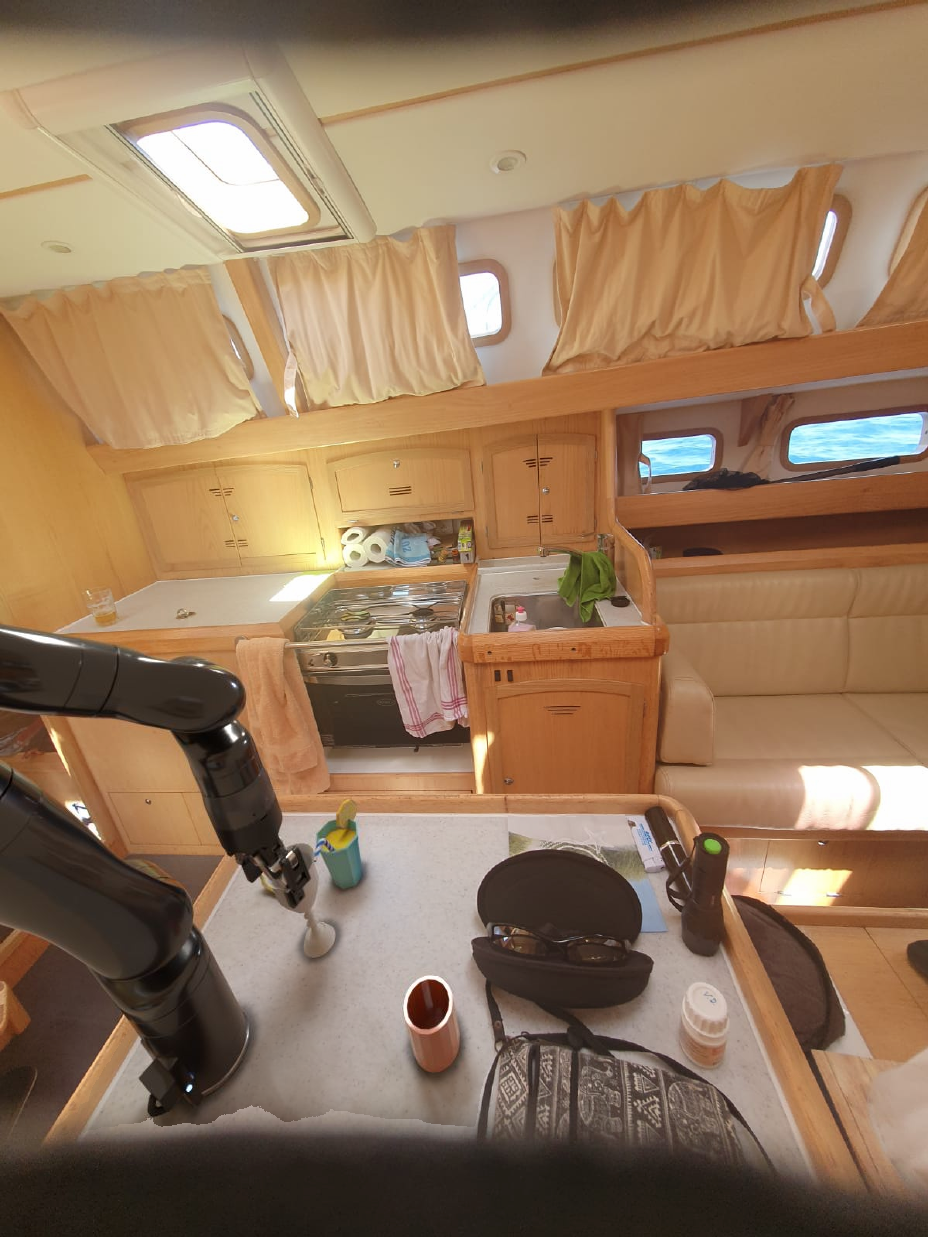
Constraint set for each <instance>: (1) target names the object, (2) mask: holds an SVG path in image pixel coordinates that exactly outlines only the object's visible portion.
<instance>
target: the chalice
mask: <svg viewBox="0 0 928 1237" xmlns="http://www.w3.org/2000/svg"><path fill="white" fill-rule="evenodd" d="M294 846H297V847H298V848H299V849H300V851H301V854H302V856H303V859H304V861H305V864H306V866H307V869H308V871H309V874H310V877H311V880H310V881H309V882H308V883H307V884H306V885H305V886H304V887H303V890H304V892H305V898H304V899H303V900H302V901H301V902H300V903H299V905H298V906H297V907H296V908H294V909H293V908H291V907H289V905H288V903H287V900H286V897H285V895H284V892H283V889H282V888H281V886H280V885H279V884H278V883H277V881H276V880H274V881H270V880H269V879H268V877H267V876H266V875H265V874H264V873H263V876H264V880H265V883H266V884H267V885H268V886H269V887H272V888H273V891H274V896H275V898H276V900H277V903H279V904H280V906H282V907H283V908H285V909H287V910H288V911H291V912H294V913H297V914H303V918H304V919H305V920H307V921H306V923H305V924H306V927H307V928H308V929H307V930H306V932H305V933H306V934H305V936H304V942H303V951H304V954H305V955H306V956H307V957H309V958H312V959H313V958H315V959H316V958H320V957H322V956H324V955H326V954H327V952H329V951H330V949H332V947H333V945H334V944H335V941H336V930H335V928H334V927H333V926H332V925H330V924H329V923H326V922H324V921H319V918H318V916H317V915H315V913H316V912H315V909H314V908H313V906H314V905H315V902H316V899H317V895H318V890H319V880H320V877H319V876H320V875H319V873H318V870H317V866H316V865H315V862H313V861H314V852H315V850H314V847H312V846H311V845H310V844H307V843H303V842H302V843H294V844H291V845H288V846H285V847H286V848H287V849H288V850H289V851H290V850H291V849H292V848H293V847H294ZM279 861H280V859H279V860H278V861H277V862H276V863H275V864H274V865H273V866H272V867H271V868H270V869H271V870H272V871H273V872H274V871H275V870H276V869H277V868H278V867H279V866H280V865H279ZM282 877H283V878H284V880H285V881H286V879H285V877H284V874H282Z"/></svg>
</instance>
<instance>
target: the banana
mask: <svg viewBox="0 0 928 1237" xmlns="http://www.w3.org/2000/svg"><path fill="white" fill-rule="evenodd" d="M258 878H259V879H260V880H261V881H260V882H261V885H262V887H263V888H264V889H266V890H267V891H268V892H271V893H274V891H273V888H272V887H269V886H268V885H267V884H266V883H265V880H264V875H263V873H262V874H261V875H260V876H259V877H258ZM274 894H275V893H274Z"/></svg>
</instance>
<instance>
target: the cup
mask: <svg viewBox="0 0 928 1237" xmlns="http://www.w3.org/2000/svg"><path fill="white" fill-rule="evenodd" d="M356 816H357V803H356V802H355V801H354V800H353V799H352V798H348V799H345V800H344V801H343V802H341V804H340V806H339V808H338V810H337V812H336V815H335V819H332V820H329V821H327V822H326V823H325V824H324V825H323V826H322V827H321V829H320V830H318V831H317V833H316V834H315V835H316V836H315V849H314V861H313V862H314V863H316V862H317V860H318V858H319V856H321V858H322V860H323V861H324V864H325V866H326V868H327V870H328V872H329V875H330V877H331V879H332V880H333V883H334V885H335V886H336V887H339V888H340V889H343V890H345V889H348V888H352V887H355V886H356V885H357V884H358V883H359V881H360V880H361V879H362V878H363V865H362V859H361V850H360V843H359V828H358V827H359V826H358V822H357V821H355V818H356Z"/></svg>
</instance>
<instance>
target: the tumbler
mask: <svg viewBox="0 0 928 1237" xmlns="http://www.w3.org/2000/svg"><path fill="white" fill-rule="evenodd" d="M402 1004H403V1005H402V1012H403V1018H404V1023H405V1027H406V1030H407V1035H408V1038H409V1042H410V1045H411V1049H412V1053H413V1056H414V1058H415V1061H416V1062H417V1064H418V1065H419V1066H420V1068H421V1069H423V1070H424V1071H426V1072H428V1073H441V1072H443V1071H445V1070H446V1069H448V1068H450V1066H451V1065H452V1064H453V1062H454V1061H455V1059H456V1057H457V1055H458V1052H459V1049H460V1044H461V1043H460V1042H461V1041H460V1040H461V1036H460V1035H461V1034H460V1028H459V1023H458V1018H457V1013H456V1012H457V1011H456V1006H455V1001H454V995H453V992H452V989H451V986H450V985H449V984H448V982H447V981H446V980H445V979H444V978H442V977H440V976H438V975H434V974H433V975H432V974H427V975H424V976H422V977H419V978H417V979H416V980H415V981H414V982H413V983H412V984H411V985H410V986H409V988H408V990H407V992H406V993H405V995H404V999H403V1003H402Z"/></svg>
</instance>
